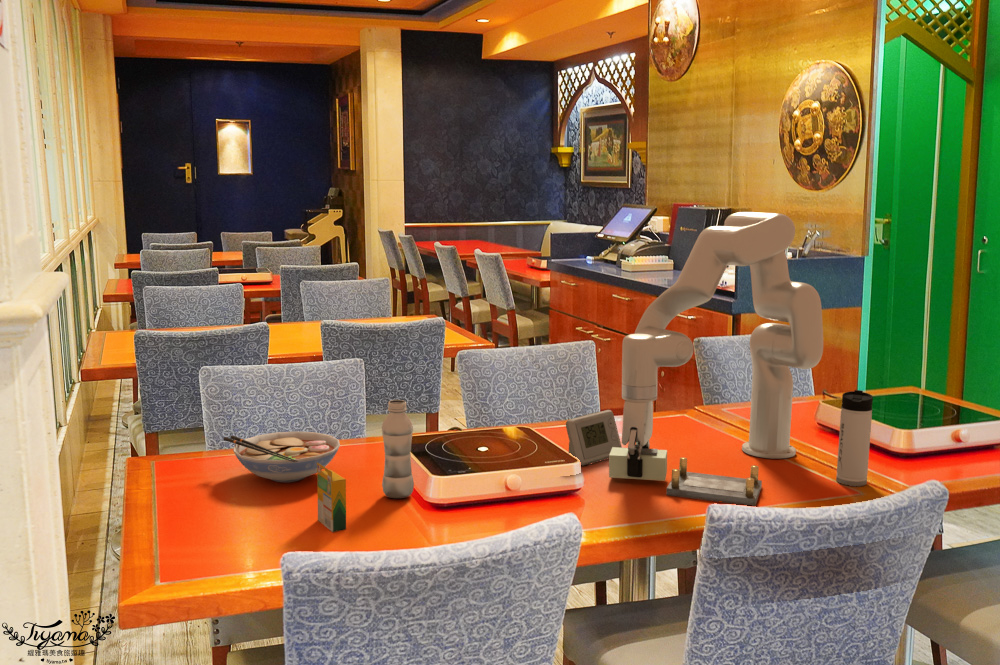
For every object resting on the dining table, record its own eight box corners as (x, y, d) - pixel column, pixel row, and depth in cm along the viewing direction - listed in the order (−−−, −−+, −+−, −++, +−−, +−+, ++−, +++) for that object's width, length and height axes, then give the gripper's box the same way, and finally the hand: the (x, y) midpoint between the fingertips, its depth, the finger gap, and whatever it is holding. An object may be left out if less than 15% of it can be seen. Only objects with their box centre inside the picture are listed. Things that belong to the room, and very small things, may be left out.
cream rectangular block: (612, 468, 204) (612, 444, 203) (666, 471, 201) (667, 447, 200) (609, 477, 198) (609, 452, 197) (665, 480, 195) (665, 455, 194)
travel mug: (867, 479, 202) (874, 391, 199) (865, 488, 196) (872, 397, 193) (837, 475, 204) (843, 388, 201) (834, 484, 198) (841, 394, 195)
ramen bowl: (365, 478, 199) (364, 442, 198) (275, 503, 183) (274, 464, 181) (298, 455, 216) (297, 421, 215) (210, 476, 200) (209, 440, 198)
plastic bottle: (389, 504, 183) (388, 407, 180) (377, 494, 189) (376, 399, 186) (418, 499, 186) (418, 403, 183) (406, 489, 192) (406, 396, 189)
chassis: (677, 477, 202) (678, 455, 201) (761, 487, 196) (762, 464, 195) (666, 495, 190) (667, 471, 189) (755, 506, 184) (756, 482, 183)
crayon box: (347, 529, 169) (346, 469, 168) (332, 532, 168) (331, 472, 166) (332, 517, 175) (330, 459, 174) (317, 520, 174) (316, 461, 172)
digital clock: (577, 469, 208) (578, 423, 206) (553, 459, 215) (554, 415, 214) (631, 458, 216) (633, 414, 215) (607, 449, 224) (608, 407, 222)
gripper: (631, 381, 205) (630, 458, 208) (612, 399, 190) (611, 482, 193) (664, 384, 203) (663, 461, 206) (648, 402, 187) (647, 486, 190)
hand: (638, 470), depth 199 cm, fingers closed on cream rectangular block, 6 cm apart
